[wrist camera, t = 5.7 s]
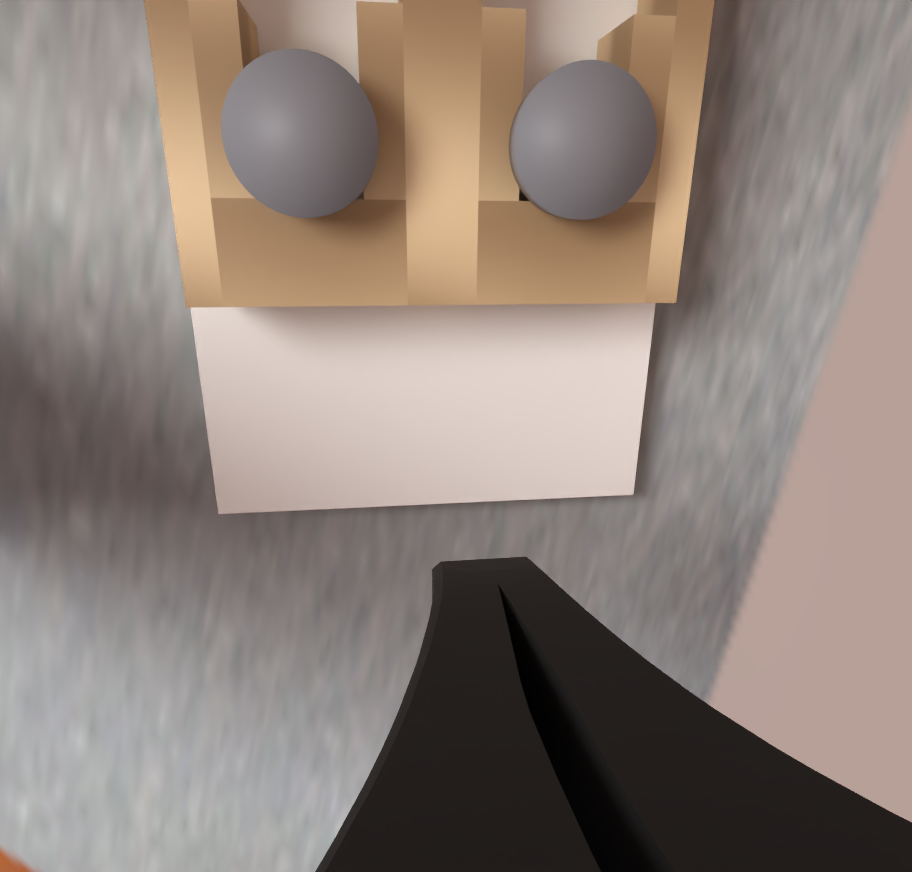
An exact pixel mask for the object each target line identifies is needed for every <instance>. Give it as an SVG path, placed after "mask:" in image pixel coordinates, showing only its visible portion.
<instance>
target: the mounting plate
mask: <svg viewBox="0 0 912 872" xmlns="http://www.w3.org/2000/svg"><path fill="white" fill-rule="evenodd" d="M239 1H240V2H241V4H242V5H243V7H244V8H245V10H246V11H247V13H248V14H249V16H250V17H251V19H252V20H253V22H254V23H255V25H256V26H257V38H258V49H259V57H258V58H256V59H254V60H253V61H252V62H251V63H249V64H248V65H247V66H246V67H245V68H244V69H243V70H242V71H241V72H240V73H239V74H238V75H237V77H236V78H235V79H234V81H233V82H232V84H231V86H230V88H229V90H228V92H227V95H226V98H225V101H224V105H223V109H222V117H221V135H222V141H223V147H224V150H225V153H226V157H227V159H228V162H229V164H230V166H231V168H232V170H233V172H234V174H235V175H236V177H237V179H238V180H239V181H240V183H241V184H242V185H243V187H244V188H245V189H246V190H247V191H248V192H249V193H250V194H251V195H252V196H253V197H254V198H256V199H257V200H258V201H259V202H261V203H262V204H264V205H265V206H267V207H268V208H271V209H273V210H275V211H277V212H279V213H282V214H285V215H288V216H293V217H300V218H315V217H321V216H326V215H329V214H332V213H335V212H337V211H339V210H341V209H343V208H345V207H346V206H348V205H349V204H351V203H352V202H353V201H354V200H355V199H364V191H363V190H364V189H365V187H366V186H367V184H368V182H369V181H370V179H371V176H372V174H373V172H374V168H375V165H376V160H377V154H378V129H377V123H376V119H375V115H374V112H373V109H372V106H371V104H370V102H369V100H368V97H367V95H366V94H365V92H364V91H363V89H362V87H361V86H360V85H359V63H358V37H357V11H356V1H365V2H386V3H398V0H239ZM637 6H638V0H482V7H493V8H514V9H527V11H526V36H525V61H524V86H523V101H522V102H521V104H520V105H519V107H518V109H517V112H516V114H515V116H514V119H513V122H512V126H511V130H510V136H509V158H510V165H511V168H512V172H513V175H514V177H515V180H516V182H517V184H518V186H519V201H530V202H531V203H532V204H533V205H535V206H536V207H537V208H539V209H540V210H542V211H544V212H545V213H547V214H550V215H552V216H555V217H559V218H564V219H577V220H586V219H594V218H599V217H602V216H604V215H607V214H609V213H611V212H613V211H615V210H617V209H618V208H620V207H621V206H623V205H624V204H625V203H626V202H627V201H629V200H630V199H631V198H632V197H633V196H634V194H635V193H636V192H637V191H638V190H639V188H640V187H641V185H642V184H643V182H644V181H645V179H646V177H647V175H648V173H649V171H650V168H651V166H652V163H653V159H654V156H655V150H656V143H657V127H656V119H655V114H654V111H653V108H652V104H651V102H650V100H649V98H648V95H647V94H646V92H645V91H644V89H643V87H642V86H641V85H640V84H639V82H638V81H637V80H636V79H635V78H634V77H633V76H632V75H631V74H629V73H628V72H627V71H625V70H624V69H622V68H621V67H619V66H616V65H614V64H612V63H609V62H605V61H600V60H596V59H597V46H598V40H599V39H601V38H602V37H604V36H605V35H606V34H608V33H609V32H610V31H612V30H613V29H615V28H616V27H617V26H619V25H620V24H621V23H623V22H624V21H626V20H627V19H628V18H630V17H631V16H632V15H634V14H637ZM655 304H656V303H611V304H507V305H402V306H297V307H193V308H191V315H192V322H193V329H194V337H195V344H196V352H197V359H198V366H199V374H200V381H201V389H202V396H203V404H204V411H205V418H206V426H207V433H208V441H209V448H210V455H211V463H212V470H213V478H214V485H215V493H216V500H217V507H218V514H232V513H254V512H275V511H296V510H318V509H339V508H360V507H382V506H403V505H424V504H446V503H467V502H488V501H510V500H531V499H552V498H574V497H595V496H616V495H633V493H634V485H635V476H636V467H637V459H638V450H639V442H640V433H641V424H642V416H643V407H644V399H645V390H646V381H647V373H648V364H649V356H650V347H651V339H652V330H653V321H654V313H655Z"/></svg>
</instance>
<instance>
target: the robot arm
mask: <svg viewBox="0 0 912 872" xmlns="http://www.w3.org/2000/svg"><path fill="white" fill-rule="evenodd" d="M315 872H912V822H910V821H908V820H906V819H904V818H902V817H899V816H898V815H896V814H894V813H892V812H890V811H888V810H886V809H884V808H882V807H880V806H879V805H877V804H875V803H873V802H871V801H870V800H868V799H866V798H864V797H862V796H860V795H859V794H857V793H855V792H853V791H851V790H850V789H848V788H846V787H844V786H842V785H840V784H838V783H836V782H835V781H833V780H831V779H829V778H827V777H826V776H824V775H822V774H820V773H818V772H817V771H815V770H813V769H811V768H809V767H808V766H806V765H804V764H803V763H801V762H799V761H797V760H796V759H794V758H792V757H791V756H789V755H787V754H785V753H784V752H782V751H780V750H779V749H777V748H775V747H774V746H772V745H770V744H769V743H767V742H766V741H764V740H762V739H761V738H759V737H758V736H756V735H755V734H753V733H752V732H750V731H748V730H747V729H745V728H744V727H742V726H740V725H739V724H737V723H736V722H734V721H733V720H731V719H730V718H728V717H726V716H725V715H723V714H722V713H720V712H719V711H717V710H715V709H714V708H713V707H711V706H710V705H708V704H707V703H705V702H704V701H702V700H701V699H699V698H698V697H696V696H695V695H694V694H692V693H691V692H689V691H688V690H686V689H685V688H684V687H682V686H681V685H680V684H678V683H677V682H676V681H674V680H673V679H672V678H670V677H669V676H668V675H666V674H665V673H663V672H662V671H661V670H659V669H658V668H657V667H655V666H654V665H653V664H651V663H650V662H649V661H647V660H646V659H645V658H643V657H642V656H641V655H640V654H638V653H637V652H636V651H635V650H633V649H632V648H631V647H629V646H628V645H627V644H626V643H624V642H623V641H622V640H621V639H619V638H618V637H617V636H616V635H615V634H613V633H612V632H611V631H610V630H609V629H607V628H606V627H605V626H604V625H603V624H601V623H600V622H599V621H598V620H597V619H596V618H594V617H593V616H592V615H591V614H590V613H589V612H587V611H586V610H585V609H584V608H583V607H582V606H581V605H579V604H578V603H577V602H576V601H575V600H574V599H573V598H572V597H570V596H569V595H568V594H567V593H566V592H565V591H564V590H563V589H561V588H560V587H559V586H558V585H557V584H556V583H555V582H554V581H553V580H552V579H550V578H549V577H548V576H547V575H546V574H545V573H544V572H543V571H542V570H541V569H540V568H538V567H537V566H536V565H535V564H534V563H533V562H532V561H531V560H529V559H528V558H527V557H514V558H497V559H479V560H462V561H445V562H440V563H439V564H438V565H437V566H435V567H434V568H433V569H432V607H431V612H430V617H429V622H428V625H427V629H426V632H425V636H424V640H423V643H422V647H421V651H420V654H419V657H418V660H417V663H416V666H415V669H414V672H413V674H412V677H411V680H410V682H409V685H408V688H407V690H406V693H405V696H404V698H403V701H402V704H401V706H400V709H399V711H398V714H397V716H396V719H395V721H394V723H393V725H392V728H391V730H390V732H389V735H388V737H387V739H386V741H385V743H384V746H383V748H382V750H381V752H380V754H379V756H378V758H377V760H376V762H375V764H374V766H373V768H372V770H371V772H370V774H369V776H368V778H367V780H366V782H365V784H364V786H363V788H362V790H361V792H360V794H359V795H358V797H357V799H356V801H355V803H354V805H353V806H352V808H351V810H350V812H349V814H348V816H347V817H346V819H345V821H344V823H343V825H342V827H341V828H340V830H339V832H338V834H337V836H336V838H335V839H334V841H333V843H332V844H331V846H330V848H329V850H328V851H327V853H326V855H325V856H324V858H323V860H322V861H321V863H320V865H319V866H318V868H317V870H316V871H315Z"/></svg>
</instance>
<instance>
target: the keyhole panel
mask: <svg viewBox="0 0 912 872" xmlns="http://www.w3.org/2000/svg"><path fill="white" fill-rule="evenodd" d="M714 1H715V0H638V6H637V14H634V15H632V16H631V17H630V18H628V19H627V20H626V21H624V22H623V23H621V24H620V25H619V26H617V27H616V28H615V29H613V30H612V31H610V32H609V33H608V34H606V35H605V36H604V37H602V38H601V39H599V40H598V46H597V59H596V60H600V61H605V62H609V63H612V64H614V65H616V66H619V67H621V68H622V69H624V70H625V71H627V72H628V73H629V74H631V75H632V76H633V77H634V78H635V79H636V80H637V81H638V82H639V84H640V85H641V86H642V87H643V89H644V91H645V92H646V94H647V95H648V98H649V100H650V102H651V104H652V108H653V111H654V114H655V119H656V127H657V143H656V150H655V156H654V159H653V163H652V166H651V168H650V171H649V173H648V175H647V177H646V179H645V181H644V182H643V184H642V185H641V187H640V188H639V190H638V191H637V192H636V193H635V194H634V196H633V197H632V198H631V199H630V200H629V201H627V202H626V203H625V204H624V205H623V206H621V207H620V208H618V209H617V210H615V211H613V212H611V213H609V214H607V215H604V216H602V217H599V218H594V219H586V220H577V219H564V218H559V217H555V216H552V215H550V214H547V213H545V212H544V211H542V210H540V209H539V208H537V207H536V206H535V205H533V204H532V203H531V202H530V201H519V186H518V184H517V182H516V180H515V177H514V175H513V172H512V168H511V165H510V158H509V136H510V130H511V126H512V122H513V119H514V116H515V114H516V112H517V109H518V107H519V105H520V104H521V102H522V101H523V86H524V61H525V36H526V11H527V9H514V8H493V7H482V0H398V3H386V2H365V1H356V11H357V37H358V63H359V85H360V86H361V87H362V89H363V91H364V92H365V94H366V95H367V97H368V100H369V102H370V104H371V106H372V109H373V112H374V115H375V119H376V123H377V129H378V154H377V160H376V165H375V168H374V172H373V174H372V176H371V179H370V181H369V182H368V184H367V186H366V187H365V189H364V190H363V191H364V199H355V200H354V201H353V202H352V203H351V204H349V205H348V206H346V207H345V208H343V209H341V210H339V211H337V212H335V213H332V214H329V215H326V216H321V217H315V218H300V217H293V216H288V215H285V214H282V213H279V212H277V211H275V210H273V209H271V208H268V207H267V206H265V205H264V204H262V203H261V202H259V201H258V200H257V199H256V198H254V197H253V196H252V195H251V194H250V193H249V192H248V191H247V190H246V189H245V188H244V187H243V185H242V184H241V183H240V181H239V180H238V179H237V177H236V175H235V174H234V172H233V170H232V168H231V166H230V164H229V162H228V159H227V157H226V153H225V150H224V147H223V141H222V135H221V117H222V109H223V105H224V101H225V98H226V95H227V92H228V90H229V88H230V86H231V84H232V82H233V81H234V79H235V78H236V77H237V75H238V74H239V73H240V72H241V71H242V70H243V69H244V68H245V67H246V66H247V65H248V64H249V63H251V62H252V61H253V60H254V59H256V58H258V57H259V49H258V38H257V26H256V25H255V23H254V22H253V20H252V19H251V17H250V16H249V14H248V13H247V11H246V10H245V8H244V7H243V5H242V4H241V2H240V1H239V0H144V5H145V12H146V19H147V27H148V34H149V41H150V48H151V56H152V63H153V70H154V78H155V85H156V92H157V99H158V107H159V114H160V121H161V129H162V136H163V143H164V150H165V158H166V165H167V172H168V180H169V187H170V194H171V201H172V209H173V216H174V223H175V231H176V238H177V245H178V252H179V260H180V267H181V274H182V282H183V289H184V296H185V303H186V308H193V307H297V306H402V305H507V304H611V303H676V299H677V292H678V284H679V276H680V268H681V260H682V252H683V244H684V237H685V229H686V221H687V213H688V205H689V197H690V190H691V182H692V174H693V166H694V158H695V150H696V142H697V135H698V127H699V119H700V111H701V103H702V95H703V88H704V80H705V72H706V64H707V56H708V48H709V40H710V33H711V25H712V17H713V9H714Z"/></svg>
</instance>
